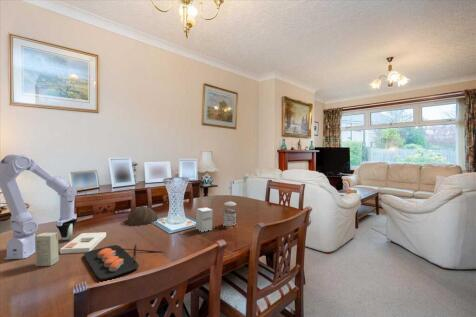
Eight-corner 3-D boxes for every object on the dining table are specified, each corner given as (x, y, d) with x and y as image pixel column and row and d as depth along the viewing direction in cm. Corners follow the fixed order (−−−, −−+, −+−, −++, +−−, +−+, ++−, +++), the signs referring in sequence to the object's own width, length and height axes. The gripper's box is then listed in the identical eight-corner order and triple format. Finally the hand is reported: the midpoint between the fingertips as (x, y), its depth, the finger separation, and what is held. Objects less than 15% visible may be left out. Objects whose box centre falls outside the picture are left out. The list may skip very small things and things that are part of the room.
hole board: (89, 252, 104) (89, 247, 104) (59, 253, 102) (59, 248, 101) (106, 235, 123) (106, 231, 123) (81, 236, 121) (81, 232, 121)
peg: (69, 239, 114) (69, 226, 114) (59, 240, 114) (59, 226, 113) (74, 236, 119) (74, 223, 119) (64, 236, 118) (64, 223, 118)
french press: (239, 226, 145) (240, 187, 144) (222, 228, 140) (223, 188, 140) (234, 222, 154) (235, 185, 153) (217, 223, 150) (218, 185, 149)
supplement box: (201, 232, 132) (202, 211, 132) (195, 229, 138) (196, 208, 137) (212, 230, 137) (213, 209, 136) (206, 226, 142) (206, 207, 142)
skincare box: (59, 261, 95) (59, 232, 95) (50, 266, 91) (50, 236, 90) (43, 260, 95) (43, 232, 94) (34, 266, 90) (34, 235, 90)
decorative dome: (148, 227, 139) (148, 211, 139) (119, 224, 143) (119, 209, 142) (163, 218, 158) (163, 204, 158) (138, 216, 162) (138, 202, 162)
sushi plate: (82, 256, 100) (82, 248, 100) (149, 239, 121) (149, 232, 121) (99, 285, 80) (99, 275, 80) (176, 259, 101) (176, 250, 101)
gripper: (68, 212, 109) (68, 240, 110) (82, 205, 124) (82, 230, 124) (51, 213, 108) (51, 241, 108) (68, 205, 122) (68, 230, 123)
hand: (67, 235), depth 116 cm, fingers closed on peg, 4 cm apart
